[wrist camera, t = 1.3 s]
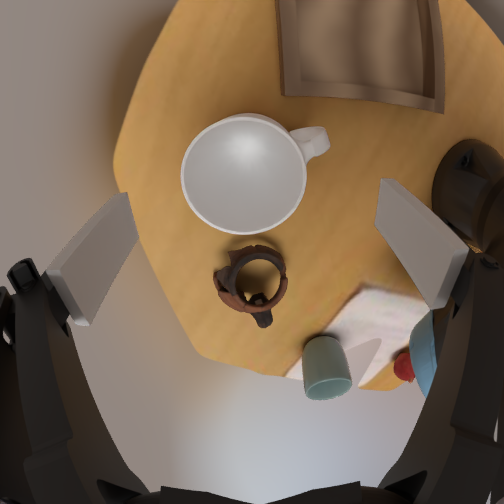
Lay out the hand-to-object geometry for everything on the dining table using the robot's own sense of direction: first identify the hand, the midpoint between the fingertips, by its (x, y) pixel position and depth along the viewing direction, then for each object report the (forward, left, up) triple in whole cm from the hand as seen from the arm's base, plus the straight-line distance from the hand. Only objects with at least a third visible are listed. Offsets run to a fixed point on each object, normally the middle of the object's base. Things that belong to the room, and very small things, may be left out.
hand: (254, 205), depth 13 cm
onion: (-30, +43, -18) cm, 56 cm away
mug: (-1, 0, -18) cm, 18 cm away
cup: (-10, +35, -18) cm, 41 cm away
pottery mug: (+1, +18, -18) cm, 25 cm away
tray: (-12, -14, -18) cm, 26 cm away
